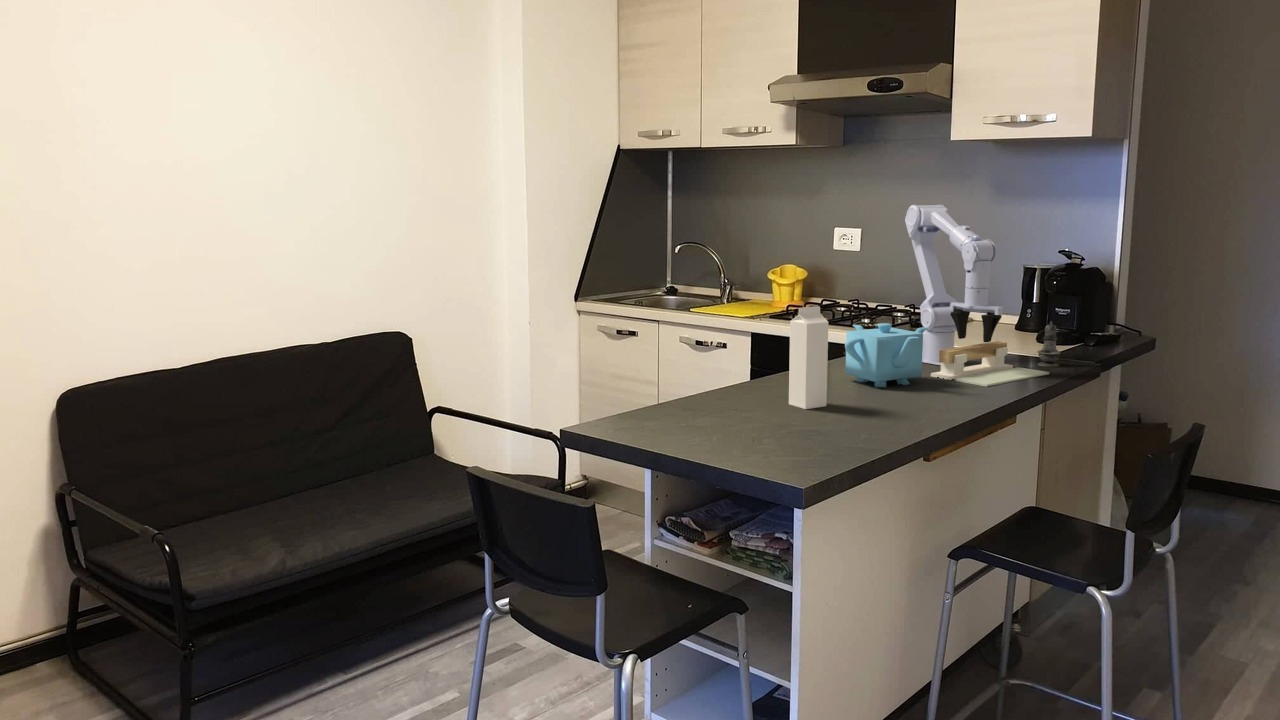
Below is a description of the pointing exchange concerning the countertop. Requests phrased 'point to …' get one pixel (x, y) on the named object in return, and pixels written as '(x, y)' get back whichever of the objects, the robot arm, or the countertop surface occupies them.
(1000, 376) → the sage mat
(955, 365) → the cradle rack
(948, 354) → the oak bar
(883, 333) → the teakettle
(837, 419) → the countertop surface
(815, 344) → the milk
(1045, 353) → the grey chess piece
